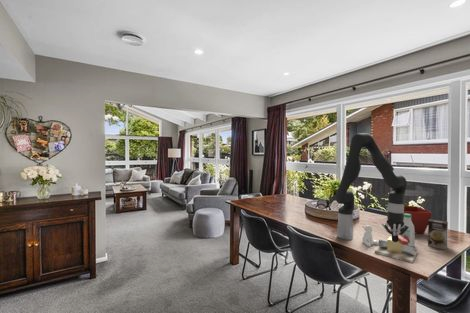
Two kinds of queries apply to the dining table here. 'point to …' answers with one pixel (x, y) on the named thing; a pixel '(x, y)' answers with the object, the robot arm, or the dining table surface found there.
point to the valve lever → (402, 240)
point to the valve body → (396, 247)
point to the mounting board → (396, 255)
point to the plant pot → (418, 217)
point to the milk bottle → (409, 230)
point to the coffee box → (437, 233)
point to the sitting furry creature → (368, 237)
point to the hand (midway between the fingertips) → (394, 241)
